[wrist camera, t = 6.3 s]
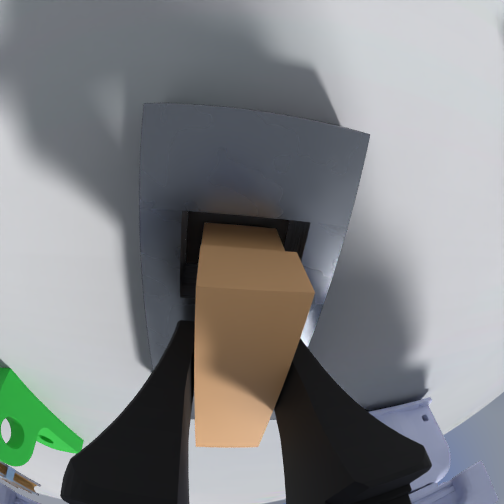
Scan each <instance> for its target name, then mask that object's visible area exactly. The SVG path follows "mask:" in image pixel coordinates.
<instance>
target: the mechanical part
mask: <svg viewBox="0 0 504 504" xmlns="http://www.w3.org/2000/svg"><path fill="white" fill-rule="evenodd" d="M5 418H6V419H7V420H8V422H9V424H10V427H11V438H10V440H9V441H8V442H7V443H5V442H4V440H3V438H2V435H1V424H2V421H3V420H4V419H5ZM36 441H38V442H40V443H42V444H44V445H46V446H48V447H51V448H53V449H56V450H60V451H65V452H70V453H76V454H77V453H79V452H80V451H81V450H82V445H83V441H84V440H82V439H81V438H80V437H79V436H77V435H76V434H75V433H74V432H73V431H72V430H70V429H69V428H68V427H67V426H66V425H65V424H64V423H63V422H61V421H60V420H59V419H58V418H57V417H56V416H55V415H54V414H53V413H52V412H51V411H50V410H49V409H48V408H47V407H46V406H45V405H44V404H43V403H42V402H41V401H40V400H39V399H38V398H37V397H36V396H35V395H34V394H33V393H32V392H31V391H30V390H29V389H28V388H27V387H26V385H25V384H24V383H23V382H22V381H21V380H20V379H19V378H18V376H17V375H16V374H15V373H14V372H13V371H12V369H11V368H0V461H1V462H4V463H6V464H8V465H11V466H21V465H24V464H25V463H27V462H28V461H29V459H30V458H31V456H32V453H33V450H34V447H35V443H36Z"/></svg>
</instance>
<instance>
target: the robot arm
mask: <svg viewBox="0 0 504 504" xmlns="http://www.w3.org/2000/svg"><path fill="white" fill-rule="evenodd" d="M194 341H195V321H186V320H180V321H178V322H177V325H176V328H175V331H174V333H173V335H172V338H171V340H170V342H169V344H168V346H167V348H166V350H165V351H164V353H163V355H162V357H161V359H160V360H159V362H158V364H157V366H156V367H155V369H154V370H153V372H152V373H151V375H150V376H149V378H148V379H147V381H146V382H145V384H144V385H143V387H142V388H141V389H140V391H139V392H138V393H137V395H136V396H135V397H134V399H133V400H132V401H131V402H130V403H129V405H128V406H127V407H126V408H125V409H124V410H123V412H122V413H121V414H120V415H119V416H118V417H117V418H116V419H115V420H114V421H113V422H112V423H111V424H110V425H109V426H108V427H107V428H106V429H105V430H104V431H103V432H102V433H101V434H100V435H99V436H98V437H97V438H96V439H95V440H93V441H92V442H91V443H90V444H89V445H87V446H86V447H85V448H84V449H82V450H81V451H80V452H79V453H77V454H76V455H75V456H73V457H72V458H71V459H70V461H69V464H68V466H67V468H66V471H65V474H64V477H63V482H62V488H61V495H60V496H61V498H62V499H63V500H64V501H66V502H67V503H69V504H189V479H188V439H189V427H190V419H191V411H192V403H193V396H194ZM431 402H432V399H431V398H430V397H429V398H425V399H422V400H418V401H414V402H410V403H406V404H402V405H398V406H394V407H389V408H385V409H380V410H375V411H370V412H367V411H366V410H365V409H364V408H362V407H361V406H360V405H359V404H358V403H356V402H355V401H354V400H353V399H352V398H351V397H350V396H349V395H348V394H347V393H346V392H345V391H344V390H343V389H342V388H341V387H340V386H339V385H338V384H337V383H336V382H335V381H334V380H333V379H332V378H331V377H330V375H329V374H328V373H327V372H326V371H325V370H324V368H323V367H322V366H321V365H320V363H319V362H318V361H317V360H316V358H315V357H314V356H313V354H312V353H311V352H310V351H309V349H308V348H307V346H306V345H305V344H304V342H303V341H302V340H301V338H300V340H299V343H298V346H297V349H296V352H295V354H294V357H293V360H292V363H291V366H290V368H289V371H288V374H287V376H286V379H285V382H284V384H283V387H282V390H281V392H280V395H279V397H278V400H277V402H276V405H275V407H274V411H275V416H276V420H277V424H278V428H279V433H280V439H281V447H282V455H283V465H284V476H285V490H286V504H495V503H496V502H497V501H498V497H497V495H496V492H495V490H494V487H493V485H492V483H491V480H490V478H489V476H488V473H487V471H486V469H485V467H484V465H483V462H482V461H479V462H477V463H476V464H474V465H473V466H471V467H469V468H468V469H466V470H464V471H463V472H461V473H460V474H458V475H457V476H455V477H454V478H452V479H451V480H450V481H448V482H443V483H442V484H440V485H439V486H438V484H437V482H438V481H440V480H441V479H442V478H443V477H444V476H445V475H446V473H447V472H448V470H449V467H450V462H451V455H450V450H449V447H448V444H447V442H446V440H445V438H444V436H443V434H442V432H441V430H440V428H439V426H438V424H437V422H436V420H435V418H434V416H433V414H432V412H431V410H430V408H429V406H428V405H429V404H430V403H431ZM0 504H40V503H38V502H35V501H33V500H31V499H29V498H26V497H24V496H22V495H20V494H18V493H16V492H15V491H14V490H12V489H11V488H9V487H7V486H6V485H4V484H2V483H0Z"/></svg>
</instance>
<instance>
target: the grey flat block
mask: <svg viewBox="0 0 504 504" xmlns="http://www.w3.org/2000/svg"><path fill="white" fill-rule="evenodd" d="M369 138H370V134H367V133H364V132H360V131H357V130H353V129H349V128H345V127H342V126H337V125H333V124H329V123H324V122H320V121H315V120H310V119H305V118H299V117H294V116H288V115H283V114H276V113H270V112H263V111H256V110H248V109H240V108H231V107H221V106H210V105H196V104H176V103H144V107H143V119H142V133H141V150H140V181H139V219H140V250H141V268H142V282H143V294H144V305H145V315H146V324H147V332H148V340H149V347H150V354H151V361H152V367H153V370H154V369H155V367H156V366H157V364H158V362H159V360H160V359H161V357H162V355H163V353H164V351H165V350H166V348H167V346H168V344H169V342H170V340H171V338H172V335H173V333H174V331H175V328H176V325H177V322H178V321H180V320H186V321H195V300H196V281H197V272H198V264H196V263H186V246H187V224H188V211H195V212H208V213H220V214H232V215H243V216H254V217H264V218H274V219H284V220H289V225H288V230H287V235H286V240H285V244H284V249H285V251H288V252H297V254H298V256H299V258H300V260H301V263H302V265H303V267H304V269H305V271H306V274H307V276H308V278H309V280H310V282H311V285H312V287H313V289H314V291H315V294H314V298H313V301H312V304H311V307H310V310H309V313H308V316H307V319H306V322H305V325H304V328H303V331H302V334H301V337H300V338H301V340H302V341H303V342H304V344H305V345H306V346H307V348H308V346H309V343H310V340H311V338H312V335H313V332H314V330H315V327H316V324H317V321H318V319H319V316H320V313H321V310H322V307H323V304H324V301H325V299H326V296H327V293H328V290H329V287H330V284H331V280H332V277H333V274H334V271H335V268H336V265H337V262H338V258H339V255H340V252H341V248H342V245H343V242H344V238H345V235H346V231H347V228H348V224H349V221H350V217H351V213H352V209H353V206H354V202H355V198H356V194H357V190H358V186H359V182H360V178H361V174H362V170H363V165H364V161H365V156H366V152H367V147H368V143H369ZM191 419H195V398H194V396H193V403H192V411H191ZM270 420H276V416H275V411H274V410H273V412H272V415H271V417H270Z"/></svg>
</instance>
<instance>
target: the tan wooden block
mask: <svg viewBox="0 0 504 504" xmlns="http://www.w3.org/2000/svg"><path fill="white" fill-rule="evenodd" d="M314 294H315V291H314V289H313V287H312V285H311V282H310V280H309V278H308V276H307V274H306V271H305V269H304V267H303V265H302V263H301V260H300V258H299V256H298V254H297V252H288V251H285V249H284V247H283V244H282V242H281V239H280V237H279V234H278V232H277V230H276V228H265V227H254V226H242V225H231V224H218V223H206V222H204V228H203V237H202V245H201V246H200V254H199V263H198V272H197V281H196V300H195V341H194V398H195V437H196V447H258V446H259V444H260V441H261V439H262V437H263V434H264V432H265V429H266V427H267V425H268V422H269V420H270V417H271V415H272V412H273V410H274V407H275V405H276V402H277V400H278V397H279V395H280V392H281V390H282V387H283V384H284V382H285V379H286V376H287V374H288V371H289V368H290V366H291V363H292V360H293V357H294V354H295V352H296V349H297V346H298V343H299V340H300V337H301V334H302V331H303V328H304V325H305V322H306V319H307V316H308V313H309V310H310V307H311V304H312V301H313V298H314Z"/></svg>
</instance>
